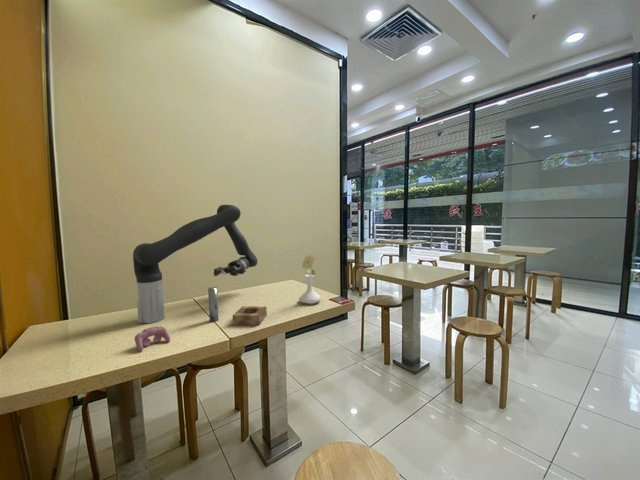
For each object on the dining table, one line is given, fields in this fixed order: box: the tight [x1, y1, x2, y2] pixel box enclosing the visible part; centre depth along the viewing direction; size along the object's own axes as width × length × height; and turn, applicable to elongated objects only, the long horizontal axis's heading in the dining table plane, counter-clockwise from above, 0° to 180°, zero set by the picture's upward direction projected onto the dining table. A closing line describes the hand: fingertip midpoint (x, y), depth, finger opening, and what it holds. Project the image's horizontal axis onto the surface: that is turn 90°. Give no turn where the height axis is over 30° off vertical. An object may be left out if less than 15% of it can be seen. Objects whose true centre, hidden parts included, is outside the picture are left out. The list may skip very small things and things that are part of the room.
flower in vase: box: [298, 254, 322, 305], centre depth 132 cm, size 13×11×25 cm
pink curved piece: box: [134, 325, 171, 353], centre depth 90 cm, size 10×5×7 cm, turn 141°
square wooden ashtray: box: [232, 305, 268, 326], centre depth 111 cm, size 11×11×4 cm
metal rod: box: [207, 286, 219, 323], centre depth 111 cm, size 4×4×14 cm
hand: (223, 273), depth 121 cm, fingers open, 8 cm apart
